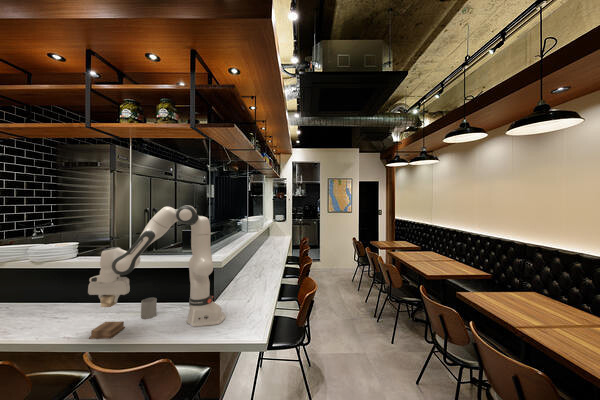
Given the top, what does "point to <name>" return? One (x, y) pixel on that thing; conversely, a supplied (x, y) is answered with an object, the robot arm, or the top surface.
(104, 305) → the maple cube
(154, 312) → the cup
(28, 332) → the top surface
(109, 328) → the walnut pedestal
